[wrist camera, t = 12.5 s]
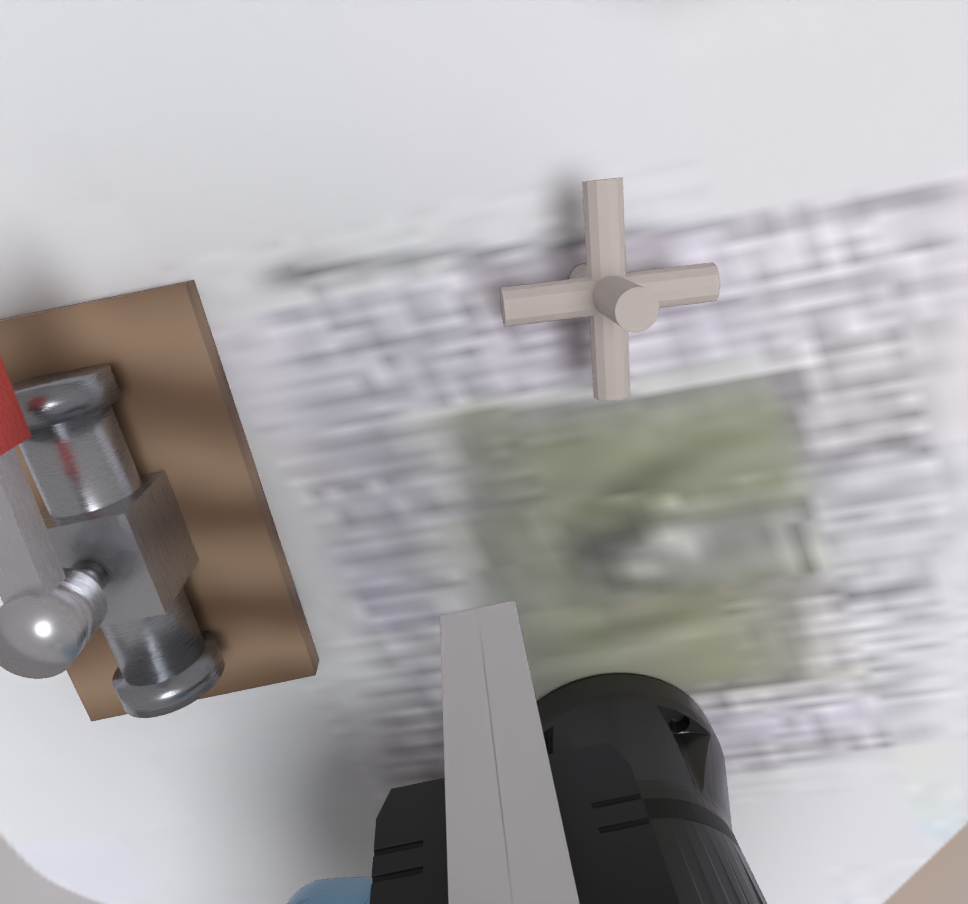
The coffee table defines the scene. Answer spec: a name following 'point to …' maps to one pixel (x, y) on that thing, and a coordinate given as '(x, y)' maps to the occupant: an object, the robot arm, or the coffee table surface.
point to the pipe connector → (609, 291)
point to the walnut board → (179, 476)
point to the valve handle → (36, 570)
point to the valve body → (119, 538)
